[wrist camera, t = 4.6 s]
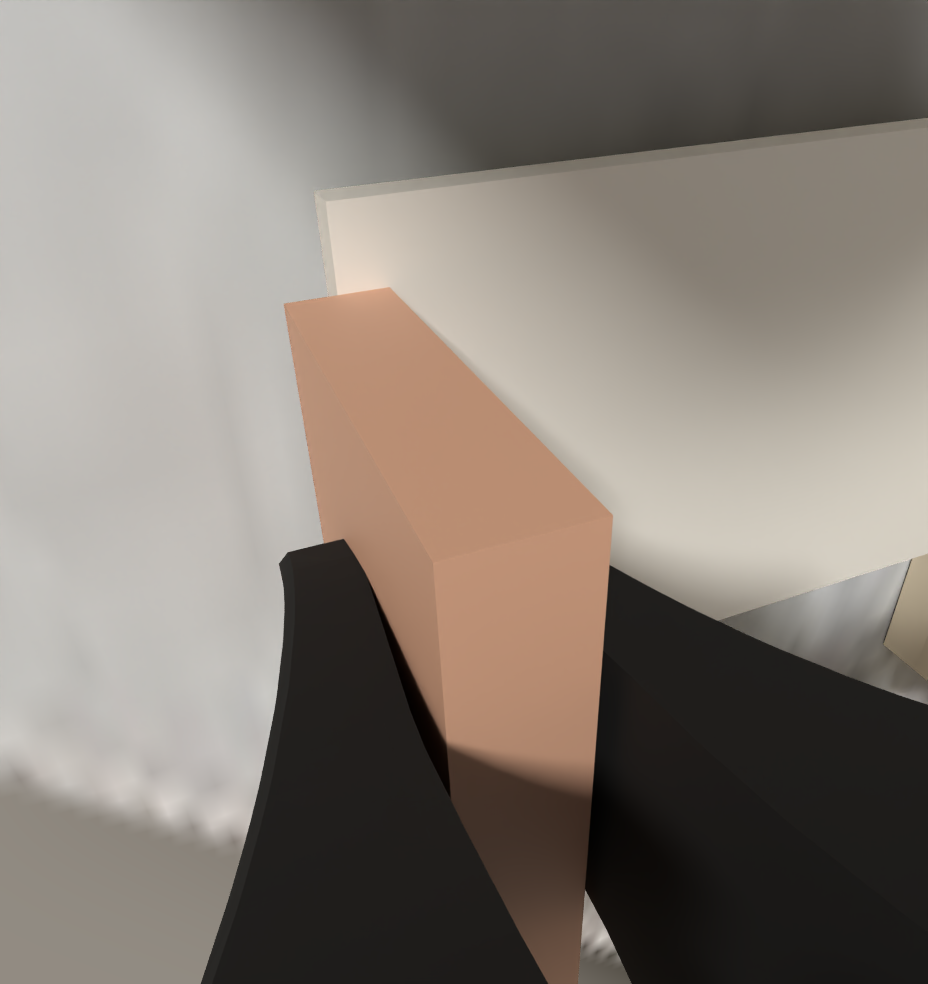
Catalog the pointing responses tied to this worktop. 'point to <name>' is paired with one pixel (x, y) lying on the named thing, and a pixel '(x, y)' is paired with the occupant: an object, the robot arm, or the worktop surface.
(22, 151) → the worktop surface
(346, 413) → the beige angled piece
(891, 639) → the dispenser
